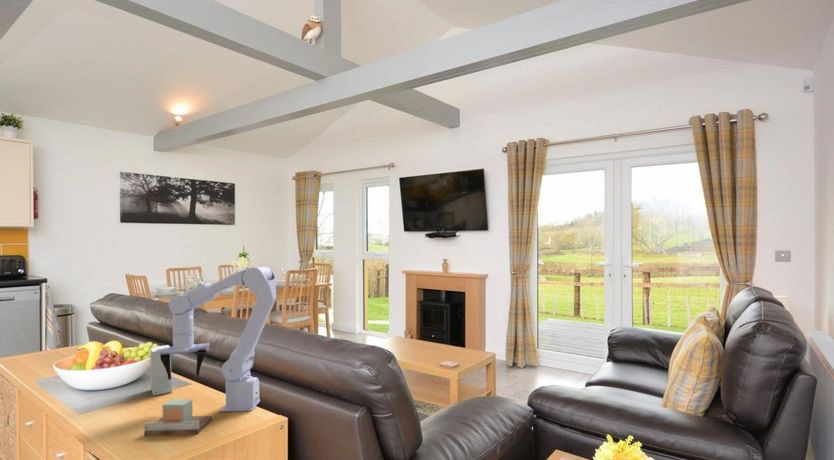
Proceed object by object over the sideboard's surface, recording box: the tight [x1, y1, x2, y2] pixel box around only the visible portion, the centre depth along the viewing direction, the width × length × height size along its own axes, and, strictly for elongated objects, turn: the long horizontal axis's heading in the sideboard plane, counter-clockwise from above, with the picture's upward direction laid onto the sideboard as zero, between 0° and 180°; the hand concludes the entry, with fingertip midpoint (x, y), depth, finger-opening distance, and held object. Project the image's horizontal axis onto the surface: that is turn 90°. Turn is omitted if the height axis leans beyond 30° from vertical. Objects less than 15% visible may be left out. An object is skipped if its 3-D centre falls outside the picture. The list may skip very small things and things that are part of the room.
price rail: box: [143, 421, 199, 431], centre depth 118 cm, size 14×1×2 cm, turn 92°
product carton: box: [162, 398, 193, 422], centre depth 122 cm, size 4×6×6 cm
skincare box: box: [149, 344, 173, 396], centre depth 152 cm, size 8×6×15 cm
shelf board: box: [143, 415, 213, 437], centre depth 123 cm, size 14×9×1 cm, turn 92°
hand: (183, 376), depth 137 cm, fingers open, 7 cm apart
